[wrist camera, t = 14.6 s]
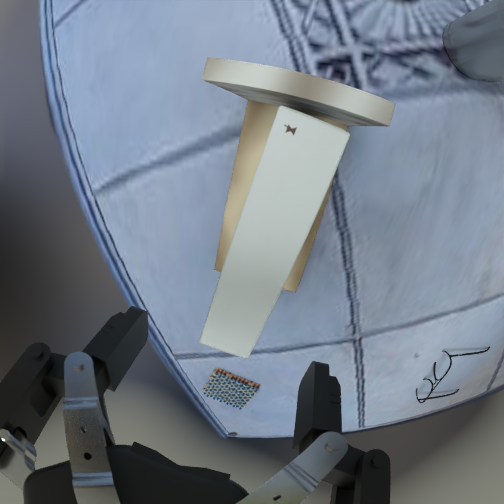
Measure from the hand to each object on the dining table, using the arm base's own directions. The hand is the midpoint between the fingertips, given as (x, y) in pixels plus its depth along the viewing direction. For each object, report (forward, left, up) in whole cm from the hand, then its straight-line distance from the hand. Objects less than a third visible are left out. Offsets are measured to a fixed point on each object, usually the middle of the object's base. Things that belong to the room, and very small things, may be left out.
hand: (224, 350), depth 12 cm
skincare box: (0, 0, -25) cm, 25 cm away
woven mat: (-1, +41, -27) cm, 50 cm away
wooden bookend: (0, -1, -27) cm, 27 cm away
